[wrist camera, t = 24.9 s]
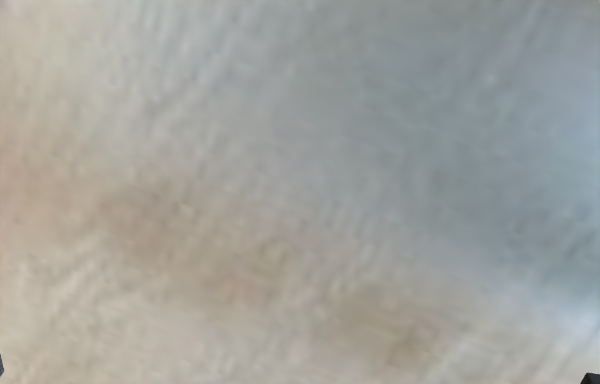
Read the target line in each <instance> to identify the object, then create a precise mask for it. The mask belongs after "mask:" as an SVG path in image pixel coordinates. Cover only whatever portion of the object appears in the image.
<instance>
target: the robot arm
mask: <svg viewBox="0 0 600 384" xmlns="http://www.w3.org/2000/svg"><path fill="white" fill-rule="evenodd" d="M3 372H4V368H3V364H2V359H1V355H0V376H1V375H2V373H3ZM580 384H600V374H593V373H586V375H585V376H584V378H583V380H582V382H581V383H580Z"/></svg>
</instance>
